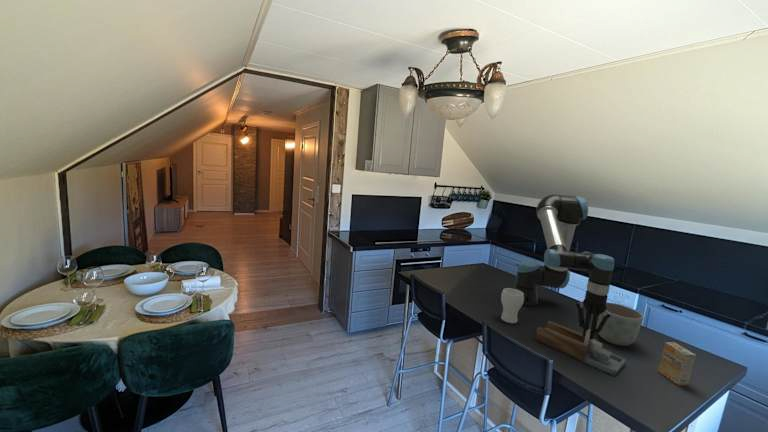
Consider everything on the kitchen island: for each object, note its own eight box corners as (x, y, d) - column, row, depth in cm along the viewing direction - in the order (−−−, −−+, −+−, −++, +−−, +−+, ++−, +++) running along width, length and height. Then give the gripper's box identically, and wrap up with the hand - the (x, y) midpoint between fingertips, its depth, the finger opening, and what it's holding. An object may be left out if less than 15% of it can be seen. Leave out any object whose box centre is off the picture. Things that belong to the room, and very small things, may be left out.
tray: (595, 351, 141) (596, 346, 141) (624, 364, 133) (625, 359, 133) (583, 362, 132) (584, 357, 132) (614, 376, 124) (615, 371, 124)
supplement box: (657, 371, 130) (664, 341, 128) (668, 371, 130) (675, 341, 128) (677, 385, 122) (685, 354, 120) (688, 386, 122) (696, 354, 120)
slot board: (547, 331, 156) (549, 320, 155) (594, 351, 141) (597, 340, 140) (535, 339, 148) (537, 328, 147) (583, 361, 133) (586, 349, 132)
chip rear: (589, 346, 139) (592, 338, 138) (600, 352, 136) (602, 343, 135) (586, 349, 136) (588, 341, 135) (596, 355, 133) (599, 346, 132)
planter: (628, 336, 158) (634, 306, 155) (643, 354, 142) (650, 322, 139) (588, 328, 163) (594, 299, 160) (598, 345, 147) (604, 313, 144)
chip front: (601, 347, 135) (612, 353, 132) (598, 356, 136) (609, 361, 133) (598, 350, 133) (609, 356, 130) (595, 359, 134) (606, 365, 131)
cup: (522, 326, 159) (526, 297, 156) (499, 322, 161) (503, 294, 158) (518, 316, 169) (522, 289, 167) (496, 313, 171) (500, 286, 169)
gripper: (576, 288, 136) (566, 340, 140) (612, 300, 126) (601, 355, 130) (582, 285, 141) (573, 335, 145) (618, 296, 131) (607, 349, 135)
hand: (586, 344), depth 137 cm, fingers closed
